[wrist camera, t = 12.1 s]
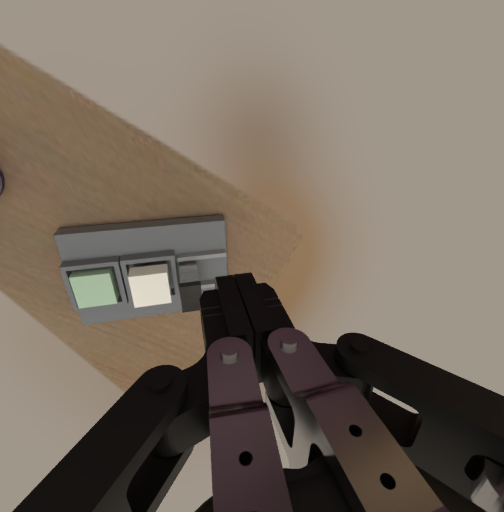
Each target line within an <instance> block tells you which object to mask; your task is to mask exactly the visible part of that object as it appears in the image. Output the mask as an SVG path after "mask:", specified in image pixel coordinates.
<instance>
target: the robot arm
mask: <svg viewBox="0 0 504 512" xmlns="http://www.w3.org/2000/svg"><path fill="white" fill-rule="evenodd" d="M199 301H200V312H201V323H202V332H203V338H204V345H205V354H204V356H203V357H202V358H201V360H199V361H198V362H197V363H196V364H194V365H193V366H191V367H189V368H187V369H184V370H181V369H180V368H178V367H176V366H172V365H160V366H157V367H154V368H151V369H150V370H148V371H146V372H145V373H144V374H143V375H142V376H140V378H139V379H138V380H137V381H136V382H135V383H134V384H133V385H132V386H131V387H130V388H129V389H128V390H127V391H126V392H125V393H124V394H123V395H122V397H121V398H120V399H119V400H118V401H117V402H116V403H115V404H114V405H113V406H112V407H111V408H110V409H109V410H108V411H107V413H106V414H105V415H104V416H103V417H102V418H101V419H100V420H99V421H98V422H97V423H96V424H95V425H94V426H93V427H92V428H91V429H90V430H89V432H88V433H86V435H85V436H84V437H83V438H82V439H81V440H80V441H79V442H78V443H77V444H76V445H75V446H74V447H73V448H72V449H71V450H70V452H69V453H68V454H67V455H66V456H65V457H64V458H63V459H62V460H61V461H60V462H59V463H58V464H57V465H56V466H55V468H53V469H52V471H50V473H49V474H48V475H47V476H46V477H45V478H44V479H43V480H42V481H41V482H40V483H39V484H38V485H37V486H36V487H35V488H34V490H32V492H31V493H30V494H29V495H28V496H27V497H26V498H25V499H24V500H23V501H22V502H21V503H20V504H19V505H18V506H17V507H16V509H14V511H13V512H156V510H157V509H158V507H159V505H160V504H161V502H162V500H163V499H164V497H165V496H166V494H167V492H168V490H169V489H170V487H171V486H172V484H173V482H174V480H175V479H176V477H177V476H178V474H179V472H180V471H181V469H182V467H183V466H184V464H185V463H186V461H187V459H188V457H189V456H190V454H191V452H192V450H193V447H194V445H195V444H197V443H199V442H200V441H202V440H204V439H205V438H207V437H209V436H210V448H211V470H212V492H213V496H212V497H210V498H209V499H208V500H207V501H205V502H204V503H203V504H202V505H201V506H200V507H199V508H198V509H197V510H196V511H195V512H504V396H502V395H500V394H497V393H495V392H493V391H491V390H488V389H486V388H484V387H482V386H479V385H477V384H475V383H473V382H470V381H468V380H466V379H464V378H461V377H459V376H457V375H454V374H452V373H450V372H448V371H445V370H443V369H441V368H439V367H436V366H434V365H432V364H429V363H427V362H425V361H423V360H421V359H418V358H416V357H414V356H411V355H409V354H407V353H405V352H402V351H400V350H398V349H396V348H393V347H391V346H389V345H387V344H384V343H382V342H380V341H378V340H375V339H373V338H371V337H368V336H366V335H363V334H359V333H347V334H344V335H342V336H340V337H339V339H338V340H337V344H326V343H317V342H313V341H310V339H309V338H308V336H307V335H306V334H305V333H303V332H302V331H300V330H297V329H295V327H294V326H293V324H292V322H291V320H290V318H289V316H288V315H287V313H286V311H285V309H284V307H283V306H282V303H281V302H280V300H279V299H278V296H277V294H276V292H275V290H274V289H273V288H272V287H270V286H269V285H268V284H266V283H259V284H257V283H256V281H255V279H254V277H253V275H252V273H243V274H234V275H227V276H218V277H215V289H213V290H206V291H203V293H202V295H201V297H200V299H199ZM261 382H263V383H264V386H265V389H266V393H265V401H266V403H264V402H263V399H262V395H261V390H260V386H259V383H261ZM373 387H375V388H377V389H378V390H380V391H382V392H384V393H386V394H388V395H390V396H392V397H394V398H395V399H397V400H399V401H401V402H403V403H405V404H407V405H409V406H411V407H413V408H414V409H415V410H417V411H418V412H419V414H415V413H412V412H410V411H408V410H406V409H404V408H402V407H400V406H398V405H396V404H395V403H393V402H391V401H389V400H387V399H385V398H384V397H382V396H379V395H378V394H376V393H374V392H372V391H373ZM270 414H271V416H270ZM271 417H272V419H273V422H274V424H275V426H276V429H277V431H278V434H279V436H280V439H281V441H282V444H283V446H284V449H285V451H286V454H287V456H288V460H289V465H290V469H288V468H283V467H282V463H281V459H280V454H279V450H278V446H277V441H276V437H275V433H274V429H273V425H272V420H271Z"/></svg>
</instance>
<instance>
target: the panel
mask: <svg viewBox="0 0 504 512" xmlns="http://www.w3.org/2000/svg"><path fill="white" fill-rule="evenodd" d="M53 236H54V239H55V242H56V245H57V248H58V251H59V254H60V257H61V260H62V264H61V265H60V267H59V269H60V272H61V275H62V278H63V281H64V284H65V287H66V290H67V292H68V295H69V298H70V301H71V304H72V307H73V310H74V312H76V311H79V314H80V317H81V320H82V323H83V325H87V324H94V323H101V322H108V321H115V320H122V319H129V318H136V317H143V316H150V315H157V314H164V313H171V312H178V311H182V305H181V297H180V290H179V283H180V274H179V262H182V261H191V260H196V263H197V270H198V276H199V281H200V282H201V290H202V293H203V291H206V290H213V289H215V277H218V276H227V256H226V234H225V220H224V217H223V215H211V216H199V217H187V218H175V219H163V220H151V221H139V222H127V223H115V224H103V225H91V226H79V227H67V228H59V229H58V230H57V231H56V233H55V234H54V235H53ZM160 264H167V266H168V273H169V279H170V286H171V293H172V303H166V304H159V305H152V306H144V307H137V308H135V307H134V303H133V298H132V294H131V289H130V285H129V280H128V274H129V270H130V268H133V267H142V266H151V265H160ZM109 266H113V269H114V273H115V277H116V281H117V285H118V289H119V293H120V294H119V298H118V302H117V304H110V305H102V306H95V307H87V308H80V309H79V308H78V305H77V302H76V299H75V296H74V293H73V290H72V287H71V283H70V280H69V276H70V275H71V273H72V271H73V270H82V269H91V268H100V267H109Z"/></svg>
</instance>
